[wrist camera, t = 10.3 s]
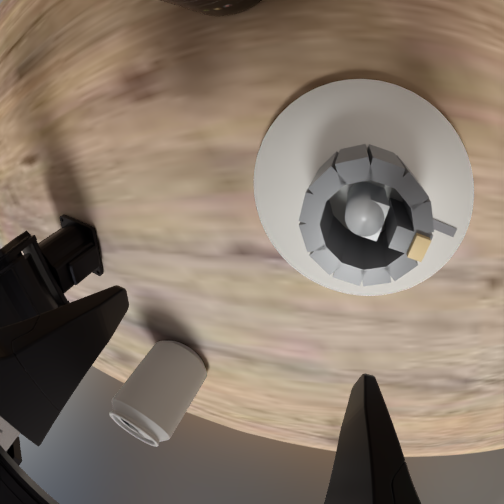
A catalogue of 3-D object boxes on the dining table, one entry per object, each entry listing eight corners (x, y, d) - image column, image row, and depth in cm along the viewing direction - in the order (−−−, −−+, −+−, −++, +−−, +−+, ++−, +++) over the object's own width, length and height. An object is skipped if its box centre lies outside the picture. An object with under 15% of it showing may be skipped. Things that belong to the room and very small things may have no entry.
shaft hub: (246, 253, 22) (223, 283, 18) (277, 58, 14) (254, 47, 11) (417, 308, 19) (422, 346, 15) (494, 131, 11) (525, 143, 8)
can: (148, 334, 33) (92, 403, 24) (190, 335, 30) (130, 421, 20) (177, 373, 36) (132, 440, 26) (220, 378, 33) (175, 457, 23)
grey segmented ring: (302, 229, 18) (286, 265, 14) (326, 131, 14) (316, 141, 11) (395, 260, 17) (400, 303, 13) (432, 167, 13) (454, 190, 10)
